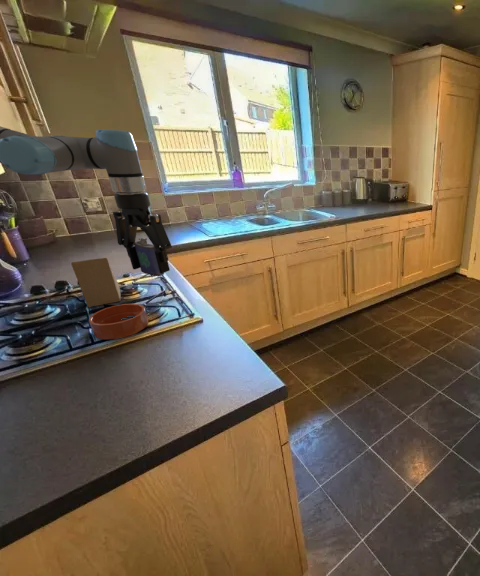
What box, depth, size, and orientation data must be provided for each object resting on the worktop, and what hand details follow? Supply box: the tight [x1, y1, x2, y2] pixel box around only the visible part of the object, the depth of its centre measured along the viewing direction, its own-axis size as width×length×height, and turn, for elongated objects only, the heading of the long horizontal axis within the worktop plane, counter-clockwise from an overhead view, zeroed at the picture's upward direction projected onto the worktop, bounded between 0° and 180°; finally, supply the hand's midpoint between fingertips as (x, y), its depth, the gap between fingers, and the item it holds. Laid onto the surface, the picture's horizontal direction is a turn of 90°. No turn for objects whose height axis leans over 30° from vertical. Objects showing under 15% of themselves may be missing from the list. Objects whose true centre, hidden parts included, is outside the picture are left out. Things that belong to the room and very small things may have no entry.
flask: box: [134, 237, 165, 277], centre depth 96 cm, size 9×3×11 cm, turn 63°
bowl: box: [88, 303, 150, 341], centre depth 91 cm, size 12×12×5 cm
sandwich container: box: [70, 257, 121, 308], centre depth 107 cm, size 9×15×15 cm, turn 37°
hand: (151, 269), depth 98 cm, fingers closed on flask, 9 cm apart
